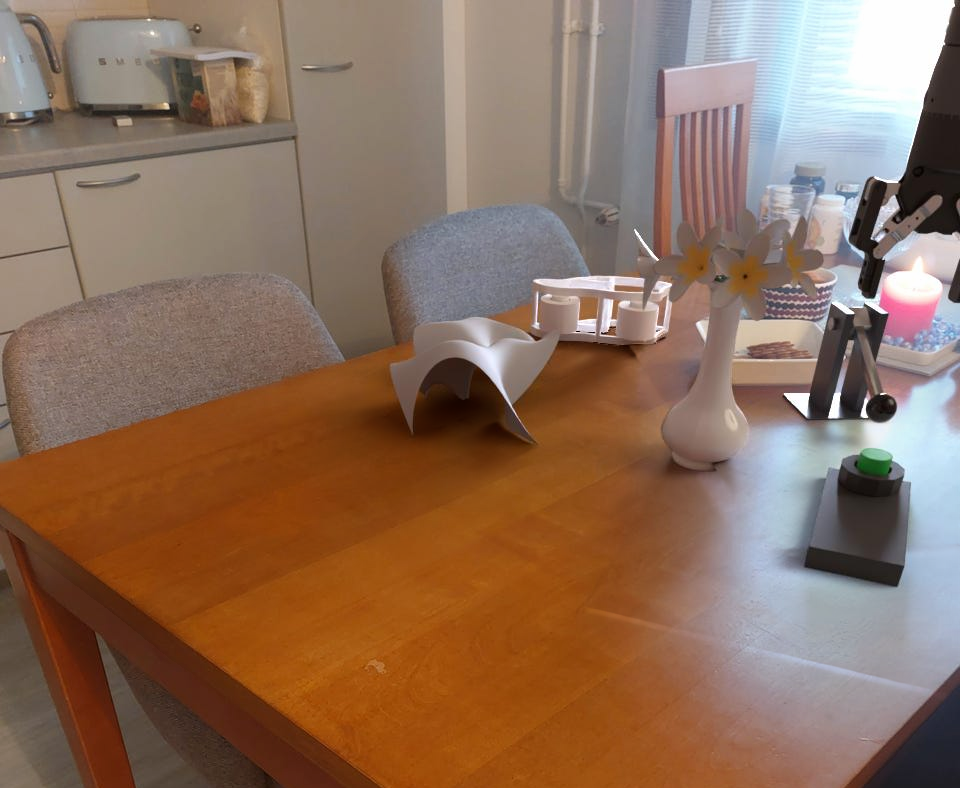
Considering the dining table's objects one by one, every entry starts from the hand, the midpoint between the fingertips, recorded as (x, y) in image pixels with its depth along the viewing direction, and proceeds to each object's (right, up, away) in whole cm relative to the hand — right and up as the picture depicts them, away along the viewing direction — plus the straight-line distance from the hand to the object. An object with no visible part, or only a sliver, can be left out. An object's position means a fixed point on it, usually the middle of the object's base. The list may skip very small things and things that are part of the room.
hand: (911, 299), depth 90 cm
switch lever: (+2, -3, +16) cm, 16 cm away
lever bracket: (+1, -6, +23) cm, 24 cm away
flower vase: (-19, -14, +11) cm, 26 cm away
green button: (-3, -16, +2) cm, 17 cm away
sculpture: (-42, -4, +24) cm, 49 cm away
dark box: (-6, -23, -1) cm, 24 cm away
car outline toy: (-25, +11, +46) cm, 53 cm away
